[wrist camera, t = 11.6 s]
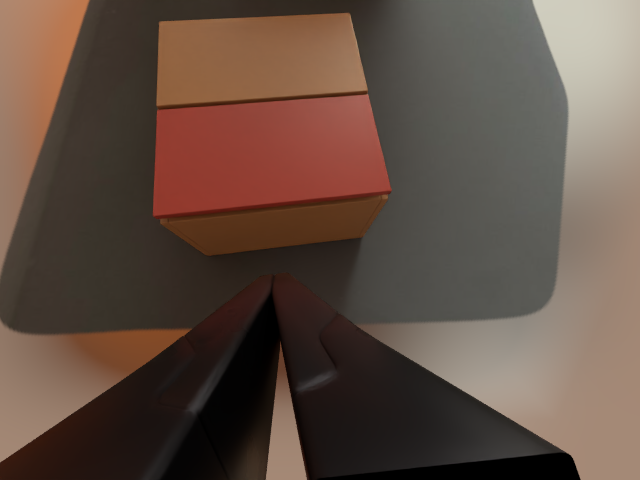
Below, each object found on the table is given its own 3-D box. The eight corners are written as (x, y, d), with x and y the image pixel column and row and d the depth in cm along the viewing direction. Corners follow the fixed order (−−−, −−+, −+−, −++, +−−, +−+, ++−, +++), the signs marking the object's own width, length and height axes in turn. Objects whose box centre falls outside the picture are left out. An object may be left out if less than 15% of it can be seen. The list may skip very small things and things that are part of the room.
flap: (389, 194, 14) (391, 190, 14) (156, 219, 13) (152, 216, 13) (366, 99, 16) (368, 94, 16) (160, 114, 15) (156, 109, 15)
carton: (362, 237, 21) (393, 192, 14) (206, 256, 20) (151, 218, 13) (337, 103, 25) (350, 11, 18) (203, 113, 24) (157, 20, 17)
